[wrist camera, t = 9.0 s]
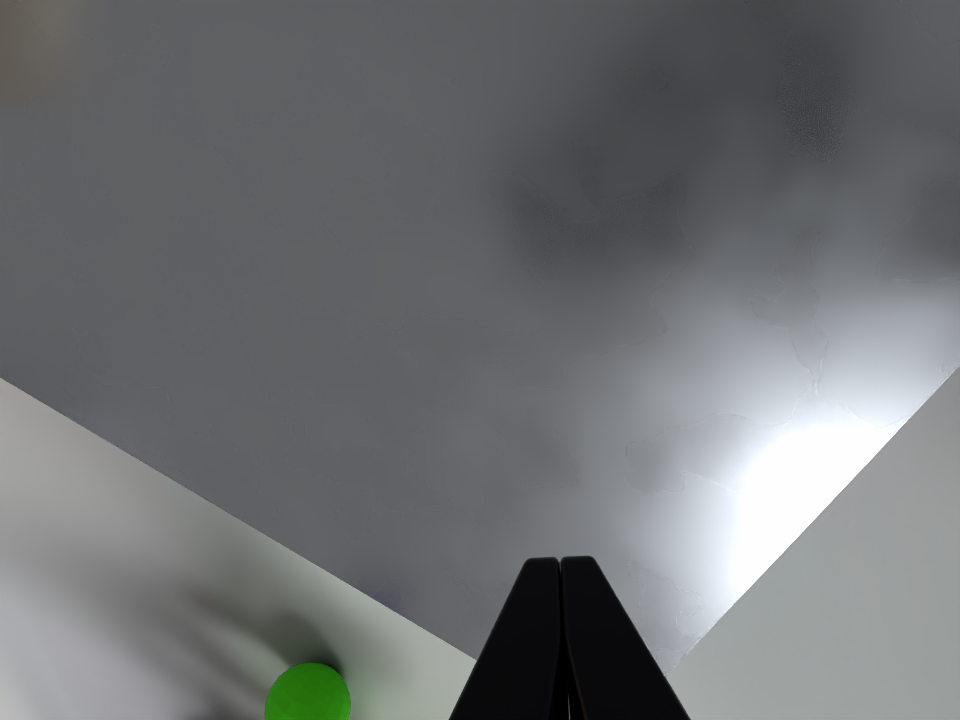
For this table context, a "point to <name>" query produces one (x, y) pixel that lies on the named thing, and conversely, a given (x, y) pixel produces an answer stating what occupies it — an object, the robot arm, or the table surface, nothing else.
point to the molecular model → (308, 694)
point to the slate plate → (489, 273)
